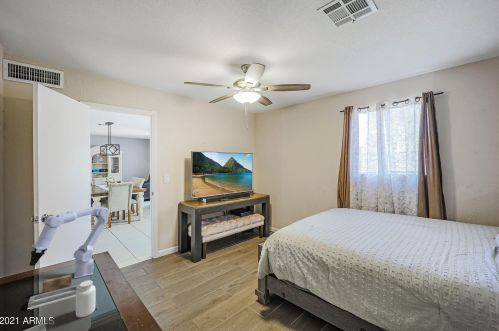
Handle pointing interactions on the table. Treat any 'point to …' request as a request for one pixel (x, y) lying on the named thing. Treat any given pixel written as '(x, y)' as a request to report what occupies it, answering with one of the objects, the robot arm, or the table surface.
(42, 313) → the table surface
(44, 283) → the door panel
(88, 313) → the pill bottle
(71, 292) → the track
